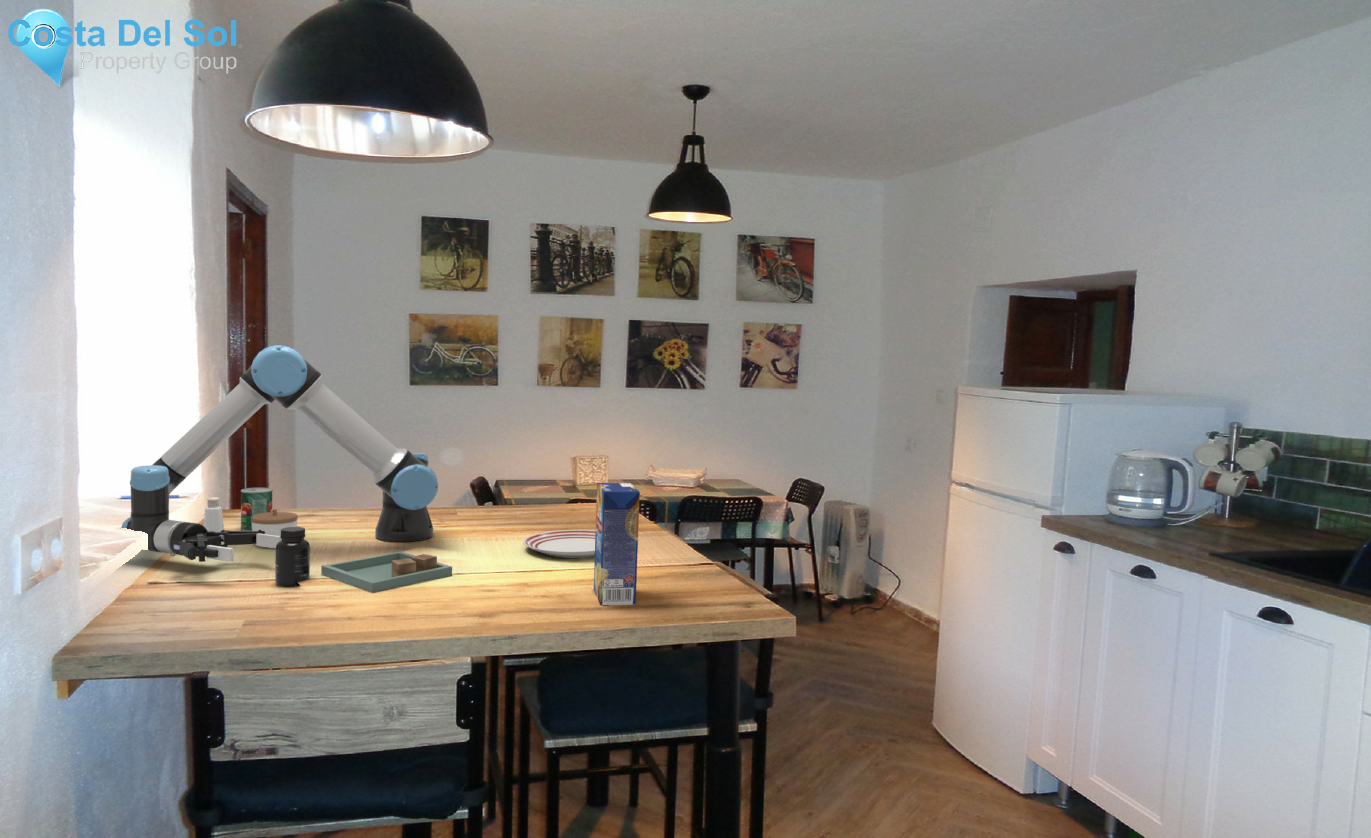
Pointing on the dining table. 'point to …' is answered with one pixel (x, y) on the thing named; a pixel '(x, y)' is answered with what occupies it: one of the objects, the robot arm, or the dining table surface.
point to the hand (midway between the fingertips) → (257, 548)
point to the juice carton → (616, 543)
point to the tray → (380, 572)
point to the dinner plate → (564, 543)
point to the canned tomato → (254, 504)
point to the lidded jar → (273, 522)
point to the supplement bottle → (292, 557)
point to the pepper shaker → (213, 516)
